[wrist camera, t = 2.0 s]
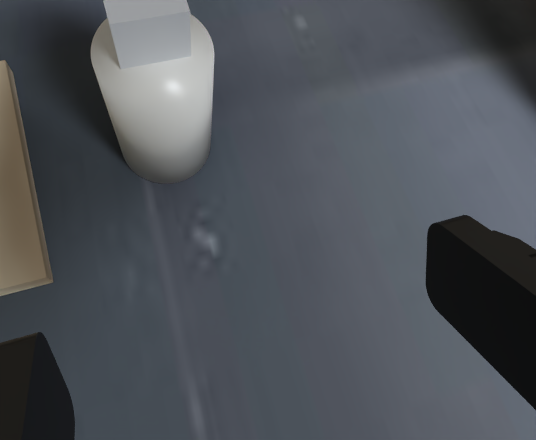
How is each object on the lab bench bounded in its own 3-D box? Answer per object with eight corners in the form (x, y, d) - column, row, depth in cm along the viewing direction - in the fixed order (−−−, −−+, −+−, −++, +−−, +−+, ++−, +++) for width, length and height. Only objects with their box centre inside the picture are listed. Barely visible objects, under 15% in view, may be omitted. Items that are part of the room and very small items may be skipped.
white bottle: (198, 96, 29) (196, -57, 19) (220, 172, 28) (232, 51, 18) (112, 113, 28) (63, -39, 18) (132, 193, 27) (90, 77, 17)
